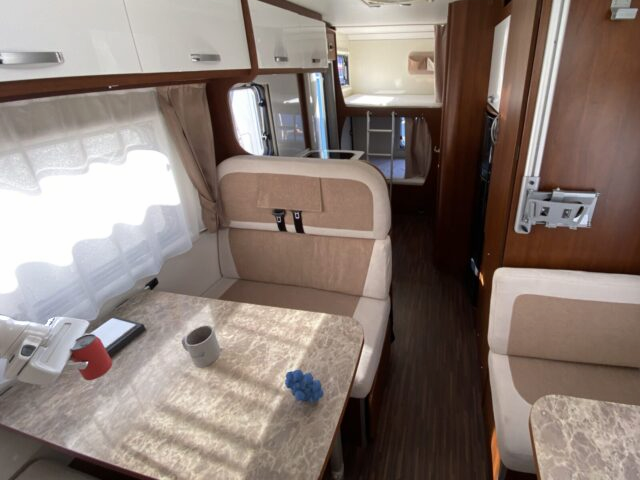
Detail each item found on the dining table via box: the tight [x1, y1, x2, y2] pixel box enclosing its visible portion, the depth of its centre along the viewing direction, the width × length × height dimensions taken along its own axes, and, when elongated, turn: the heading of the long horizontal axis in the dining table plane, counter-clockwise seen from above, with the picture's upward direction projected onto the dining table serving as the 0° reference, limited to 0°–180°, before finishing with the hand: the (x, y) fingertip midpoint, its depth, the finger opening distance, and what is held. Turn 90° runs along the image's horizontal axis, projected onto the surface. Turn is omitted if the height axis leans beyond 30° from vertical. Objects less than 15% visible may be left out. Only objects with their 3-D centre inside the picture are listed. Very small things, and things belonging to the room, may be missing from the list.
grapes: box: [284, 369, 325, 403], centre depth 88 cm, size 12×7×12 cm, turn 79°
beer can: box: [70, 333, 113, 381], centre depth 87 cm, size 7×7×12 cm
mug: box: [181, 324, 222, 368], centre depth 105 cm, size 12×9×10 cm
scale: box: [88, 315, 146, 358], centre depth 113 cm, size 16×16×4 cm
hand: (92, 354), depth 87 cm, fingers closed on beer can, 6 cm apart
